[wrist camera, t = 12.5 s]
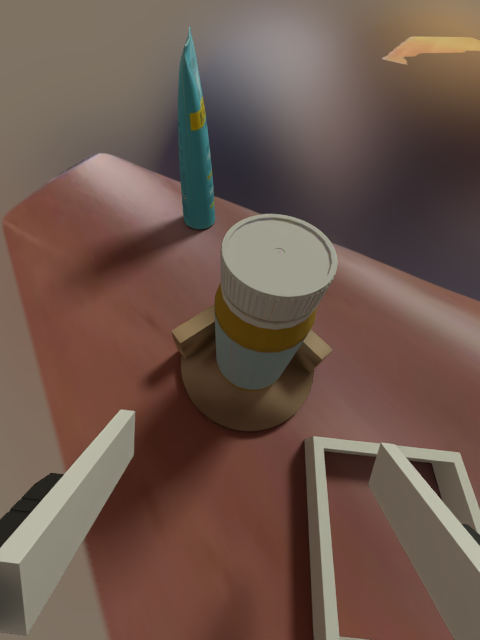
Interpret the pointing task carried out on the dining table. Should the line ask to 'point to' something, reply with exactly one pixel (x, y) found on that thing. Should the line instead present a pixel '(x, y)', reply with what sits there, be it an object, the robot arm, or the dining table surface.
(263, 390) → the v block
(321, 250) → the bottle
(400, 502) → the robot arm
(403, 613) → the dining table surface
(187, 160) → the tube
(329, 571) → the grey frame
